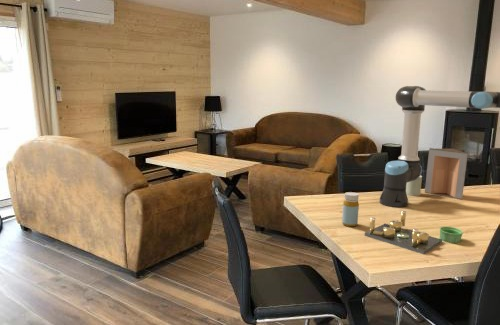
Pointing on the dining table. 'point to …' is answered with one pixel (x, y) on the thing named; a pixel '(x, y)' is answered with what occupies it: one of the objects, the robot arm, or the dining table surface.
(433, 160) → the cabinet
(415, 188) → the can
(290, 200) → the dining table surface
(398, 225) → the knob
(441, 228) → the ramekin
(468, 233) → the dining table surface
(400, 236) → the control panel
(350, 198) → the bottle
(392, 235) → the knob
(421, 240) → the knob
